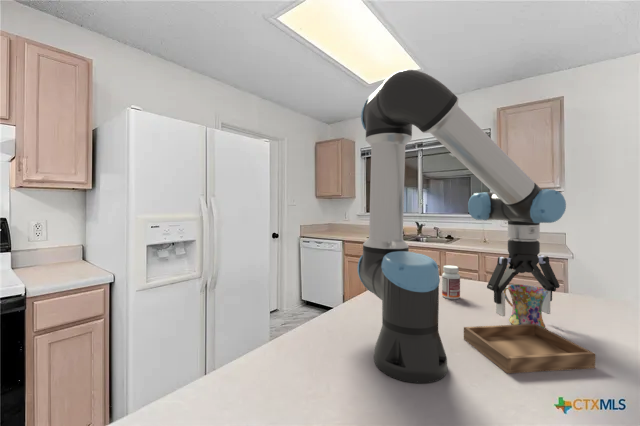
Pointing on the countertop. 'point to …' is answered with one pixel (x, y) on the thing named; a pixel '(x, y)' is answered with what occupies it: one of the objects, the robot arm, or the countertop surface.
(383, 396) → the countertop surface
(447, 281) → the pill bottle
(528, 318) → the mug
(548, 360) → the tray
